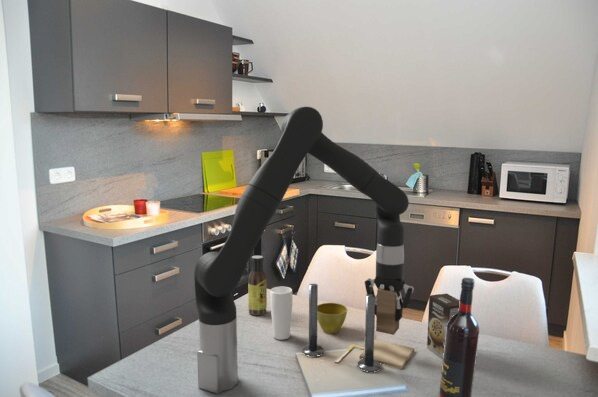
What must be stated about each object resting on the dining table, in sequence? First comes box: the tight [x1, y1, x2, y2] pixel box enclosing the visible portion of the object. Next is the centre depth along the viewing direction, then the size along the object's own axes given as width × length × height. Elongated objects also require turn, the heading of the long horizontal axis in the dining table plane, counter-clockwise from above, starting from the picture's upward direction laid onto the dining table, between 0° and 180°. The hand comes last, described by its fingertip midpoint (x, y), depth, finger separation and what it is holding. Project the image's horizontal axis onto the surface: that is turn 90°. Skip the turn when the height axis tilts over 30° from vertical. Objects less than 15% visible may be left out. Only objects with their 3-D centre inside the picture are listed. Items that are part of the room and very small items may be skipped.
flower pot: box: [317, 302, 348, 334], centre depth 151 cm, size 10×10×7 cm
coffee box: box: [426, 293, 461, 360], centre depth 135 cm, size 9×6×16 cm
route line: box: [345, 344, 365, 352], centre depth 135 cm, size 12×5×1 cm, turn 151°
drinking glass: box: [269, 285, 294, 341], centre depth 145 cm, size 7×7×15 cm
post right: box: [357, 294, 381, 373], centre depth 127 cm, size 6×6×20 cm
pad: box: [359, 338, 415, 370], centre depth 135 cm, size 12×12×1 cm
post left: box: [302, 283, 324, 356], centre depth 135 cm, size 6×6×20 cm
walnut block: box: [375, 288, 400, 336], centre depth 133 cm, size 5×5×12 cm
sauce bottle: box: [247, 255, 268, 316], centre depth 163 cm, size 6×6×20 cm
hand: (388, 318), depth 134 cm, fingers closed on walnut block, 5 cm apart
